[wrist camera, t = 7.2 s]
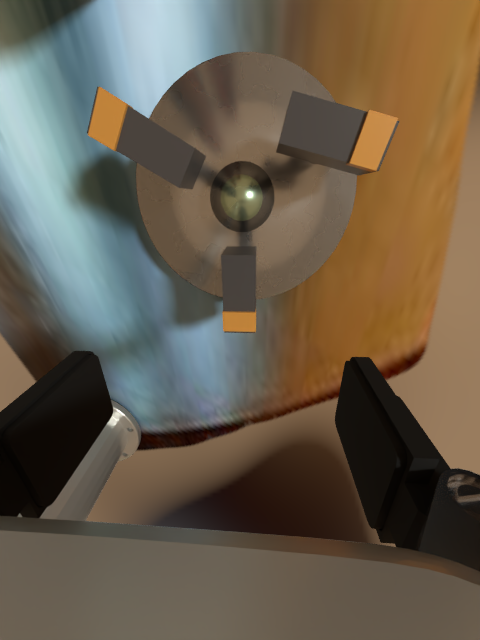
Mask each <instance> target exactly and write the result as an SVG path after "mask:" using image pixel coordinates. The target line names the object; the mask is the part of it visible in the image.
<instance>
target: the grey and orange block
mask: <svg viewBox="0 0 480 640" xmlns="http://www.w3.org/2000/svg"><path fill="white" fill-rule="evenodd" d="M397 119H398V118H396V117H393V116H389V115H386V114H382V113H379V112H375V111H372V110H369V111H367V112H366V111H362V110H359V109H355V108H352V107H348V106H345V105H341V104H338V103H334V102H331V101H327V100H324V99H320V98H317V97H314V96H310V95H307V94H303V93H300V92H296V91H292V94H291V98H290V101H289V104H288V108H287V111H286V115H285V119H284V123H283V127H282V131H281V134H280V138H279V142H278V146H277V150H276V153H280V154H283V155H287V156H291V157H294V158H298V159H301V160H305V161H309V162H310V163H312V164H319V165H323V166H327V167H330V168H334V169H337V170H341V171H345V172H348V173H352V174H355V175H362V174H367V173H371V172H376V171H379V169H380V166H381V164H382V162H383V159H384V157H385V154H386V152H387V150H388V147H389V145H390V142H391V140H392V138H393V135H394V133H395V130H396V128H397V126H398V123H399V121H397Z"/></svg>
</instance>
